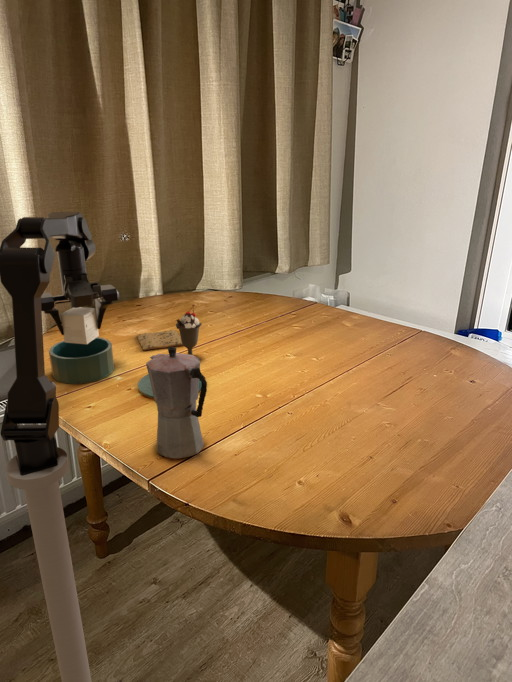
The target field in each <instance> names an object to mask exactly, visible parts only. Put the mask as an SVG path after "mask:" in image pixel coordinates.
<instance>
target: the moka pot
mask: <svg viewBox="0 0 512 682" xmlns="http://www.w3.org/2000/svg"><path fill="white" fill-rule="evenodd" d="M167 351H168V353H167V354H166V353H157V354H154V355H153V354H152V355H151V356H149V358H150V360H148V361H146V363H145V364H146V370H147V374H149V379H150V383H151V387H152V392H153V396H154V398H153V400H154V402H155V404H156V411H157V427H156V451H157V453H158V454H159V455H160V456H163V457H164V458H167V459H184V458H188V457H192V456H196V455H197V454H199V453H200V452H201V451H202V450H203V447H204V445H205V443H204V439H203V434H202V430H201V426H200V425H201V424H200V420H199V419H200V418H201V417H202V416H203V409H204V404H205V399H206V396H207V392H208V382H207V380H206V377H205V376H204V375H203V374H202V371H201V361H199V360H198V359H197V358H196V357H197V356H196V357H195V355H194V354H193V355H188V353H187V354H186V353H180V352H177V347H176V346H171V347H167ZM199 380H200V381H201V384H202V385H201V390H200V391H199ZM198 391H199V392H198ZM197 400H198V402H197ZM197 404H198V405H197Z"/></svg>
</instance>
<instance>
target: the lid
mask: <svg viewBox="0 0 512 682" xmlns="http://www.w3.org/2000/svg"><path fill="white" fill-rule="evenodd" d="M201 385H202V384H201V381H200V380H199V391H198V393H200V390H201ZM137 389H138V391H139V392H140V393H141V395H144V396H145V397H147V398H151V399H154V396H153V392H152V387H151V383H150V379H149V374H148V373H147V374H145V375H143V376H142V377H141V378H140V379H139V380H138V383H137Z"/></svg>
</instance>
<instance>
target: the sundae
mask: <svg viewBox="0 0 512 682" xmlns="http://www.w3.org/2000/svg"><path fill="white" fill-rule="evenodd" d="M195 306H196V304H192V305H191V308H190V309H189V310H187V311H186V312H185V313H184V314H183V315H182V316H181V317H180V319H179V318H178V319H176V324H175V327H176V329H177V330H178V331H179V336H180V337H181V341H182V345H181V346H183V347H184V348H186V349H187V354H188V355H194V354H193V349H194V348H195V347H196V346H197V344H198V340H199V333H200V332H199V331H200V327H202V323H201V322H200V320H199V318H198V317H196V316H197V315H196V313H195V310H194V309H195ZM191 311H192V312H191ZM194 356H195V355H194ZM195 357H196V358H197V359H198V360H199V362H201V361H200V360H201V359H200V357H198V356H195Z"/></svg>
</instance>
